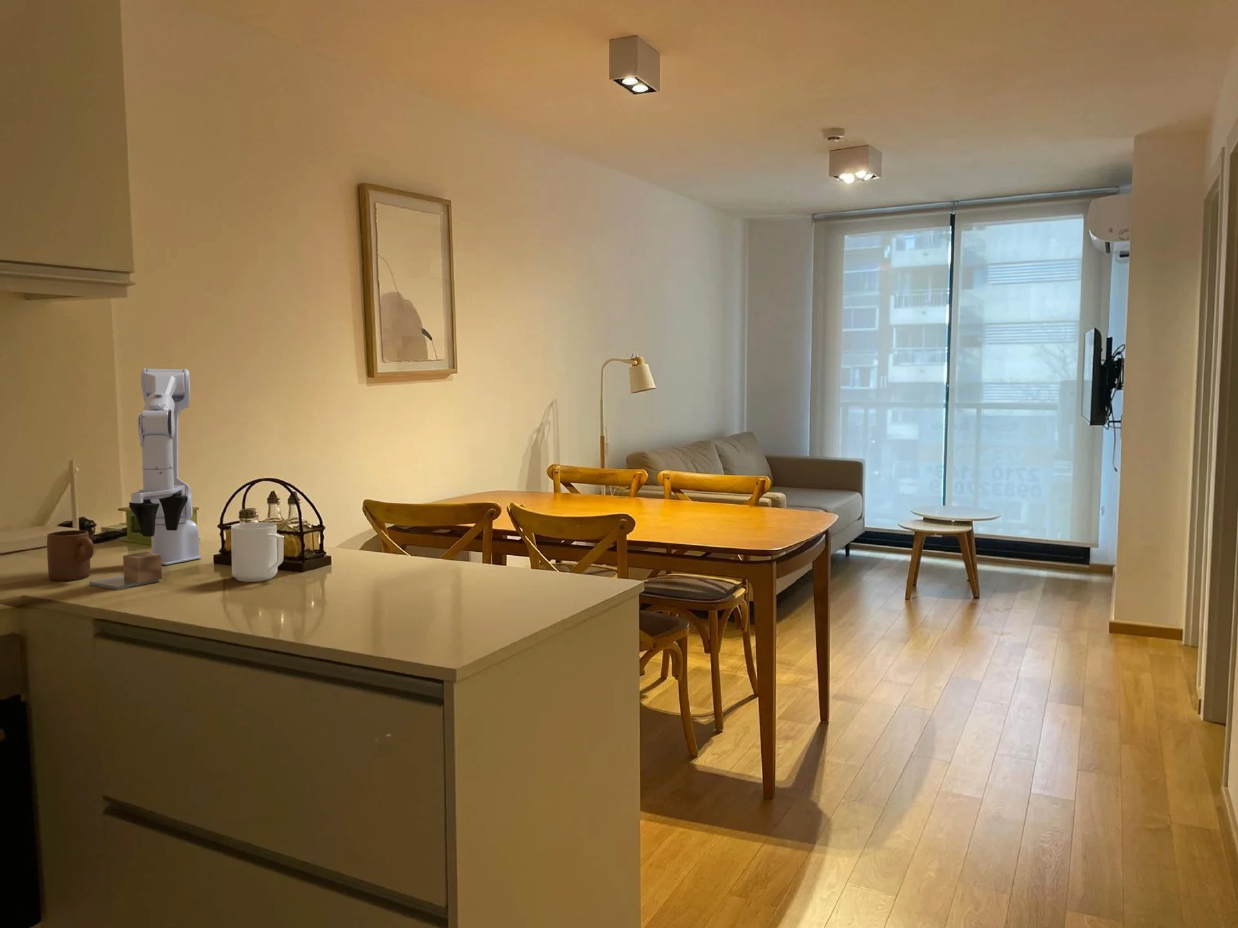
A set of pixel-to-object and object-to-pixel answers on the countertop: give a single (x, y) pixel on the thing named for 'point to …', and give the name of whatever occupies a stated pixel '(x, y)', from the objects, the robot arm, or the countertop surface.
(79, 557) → the mug
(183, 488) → the robot arm
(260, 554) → the mug
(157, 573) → the walnut block
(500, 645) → the countertop surface
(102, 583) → the slate coaster
